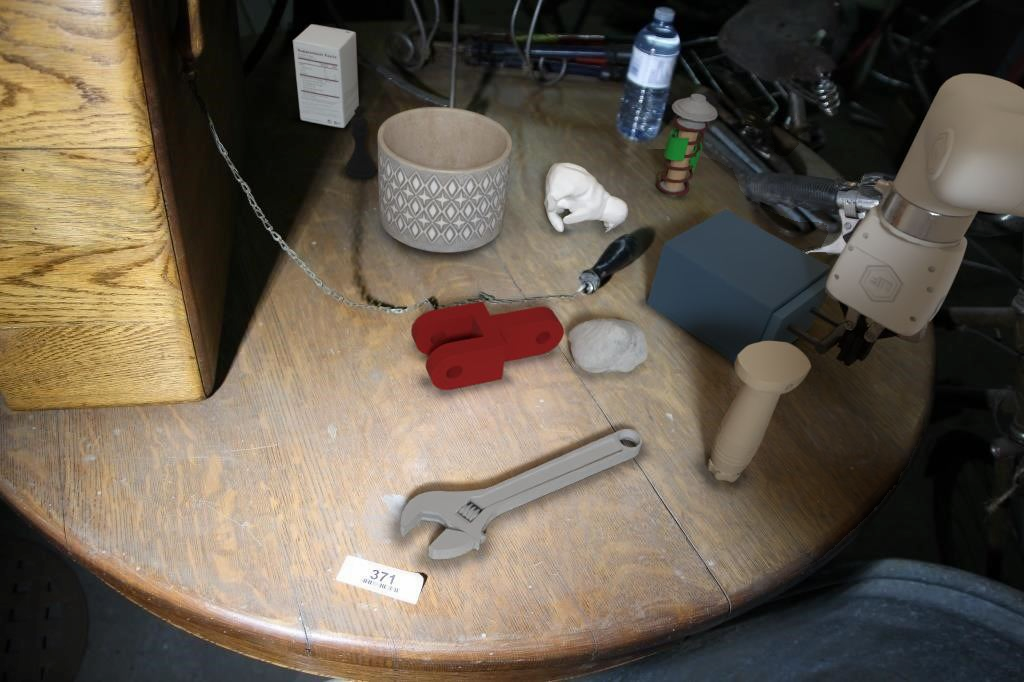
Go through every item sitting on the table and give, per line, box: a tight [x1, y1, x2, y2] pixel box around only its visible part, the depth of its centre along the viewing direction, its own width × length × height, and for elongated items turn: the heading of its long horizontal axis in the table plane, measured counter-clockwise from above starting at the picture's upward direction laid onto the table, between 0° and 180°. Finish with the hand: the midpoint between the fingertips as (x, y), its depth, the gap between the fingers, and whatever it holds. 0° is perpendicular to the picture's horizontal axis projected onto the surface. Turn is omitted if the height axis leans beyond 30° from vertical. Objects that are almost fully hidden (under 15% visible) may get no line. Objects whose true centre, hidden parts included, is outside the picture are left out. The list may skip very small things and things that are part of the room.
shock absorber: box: [656, 93, 719, 197], centre depth 108 cm, size 6×6×15 cm
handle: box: [707, 341, 812, 483], centre depth 69 cm, size 5×6×15 cm
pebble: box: [567, 317, 649, 374], centre depth 83 cm, size 9×8×5 cm
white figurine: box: [543, 162, 629, 233], centre depth 101 cm, size 6×8×12 cm
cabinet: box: [646, 208, 831, 363], centre depth 89 cm, size 15×13×9 cm
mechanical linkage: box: [410, 301, 565, 391], centre depth 81 cm, size 16×7×5 cm, turn 112°
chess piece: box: [344, 105, 378, 180], centre depth 105 cm, size 4×4×10 cm
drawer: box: [761, 275, 846, 356], centre depth 87 cm, size 18×11×7 cm, turn 43°
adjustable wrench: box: [399, 428, 643, 560], centre depth 69 cm, size 25×6×2 cm, turn 117°
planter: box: [377, 106, 513, 254], centre depth 96 cm, size 16×16×13 cm
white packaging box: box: [292, 23, 360, 129], centre depth 116 cm, size 7×7×13 cm
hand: (848, 358), depth 82 cm, fingers closed
